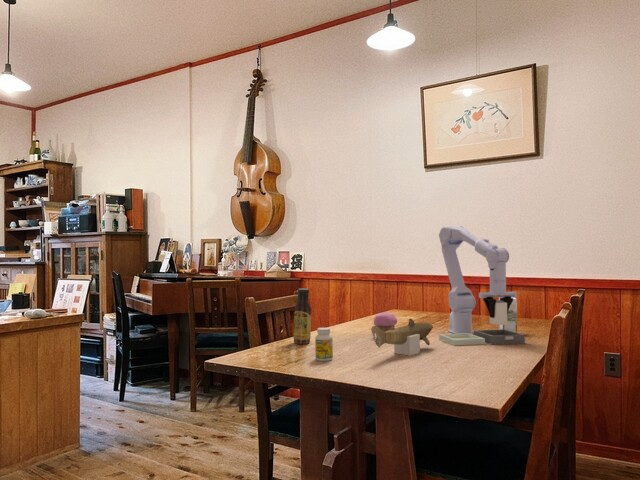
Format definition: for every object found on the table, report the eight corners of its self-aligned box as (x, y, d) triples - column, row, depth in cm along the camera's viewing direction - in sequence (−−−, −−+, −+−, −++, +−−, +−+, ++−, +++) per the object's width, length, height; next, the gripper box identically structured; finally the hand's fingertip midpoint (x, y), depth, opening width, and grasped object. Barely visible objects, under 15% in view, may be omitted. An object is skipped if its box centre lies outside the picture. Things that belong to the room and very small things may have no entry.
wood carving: (360, 361, 149) (359, 324, 150) (419, 344, 175) (419, 313, 176) (384, 365, 143) (384, 327, 144) (442, 347, 169) (441, 315, 170)
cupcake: (400, 337, 190) (400, 311, 190) (391, 340, 183) (391, 314, 183) (379, 335, 195) (379, 310, 195) (369, 338, 187) (369, 312, 188)
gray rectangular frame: (473, 338, 187) (473, 330, 187) (504, 336, 190) (504, 329, 190) (493, 345, 174) (493, 336, 174) (525, 343, 176) (525, 335, 176)
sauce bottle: (290, 344, 177) (290, 289, 178) (297, 341, 183) (297, 287, 184) (307, 345, 175) (306, 289, 175) (313, 342, 181) (313, 288, 181)
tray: (439, 339, 185) (439, 334, 185) (468, 338, 187) (468, 333, 187) (454, 345, 173) (454, 339, 173) (484, 344, 175) (484, 338, 175)
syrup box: (513, 332, 201) (512, 296, 201) (517, 334, 195) (517, 298, 195) (498, 331, 202) (498, 296, 202) (502, 334, 196) (502, 298, 196)
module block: (489, 323, 184) (489, 300, 184) (500, 322, 185) (500, 299, 185) (496, 324, 179) (495, 301, 180) (507, 324, 180) (506, 301, 181)
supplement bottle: (334, 358, 154) (334, 327, 154) (330, 361, 149) (329, 330, 149) (318, 357, 155) (318, 326, 156) (313, 360, 150) (313, 329, 150)
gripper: (485, 281, 177) (486, 319, 177) (521, 280, 180) (522, 317, 180) (475, 280, 184) (476, 316, 184) (510, 279, 187) (510, 315, 187)
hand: (498, 317), depth 182 cm, fingers closed on module block, 4 cm apart
